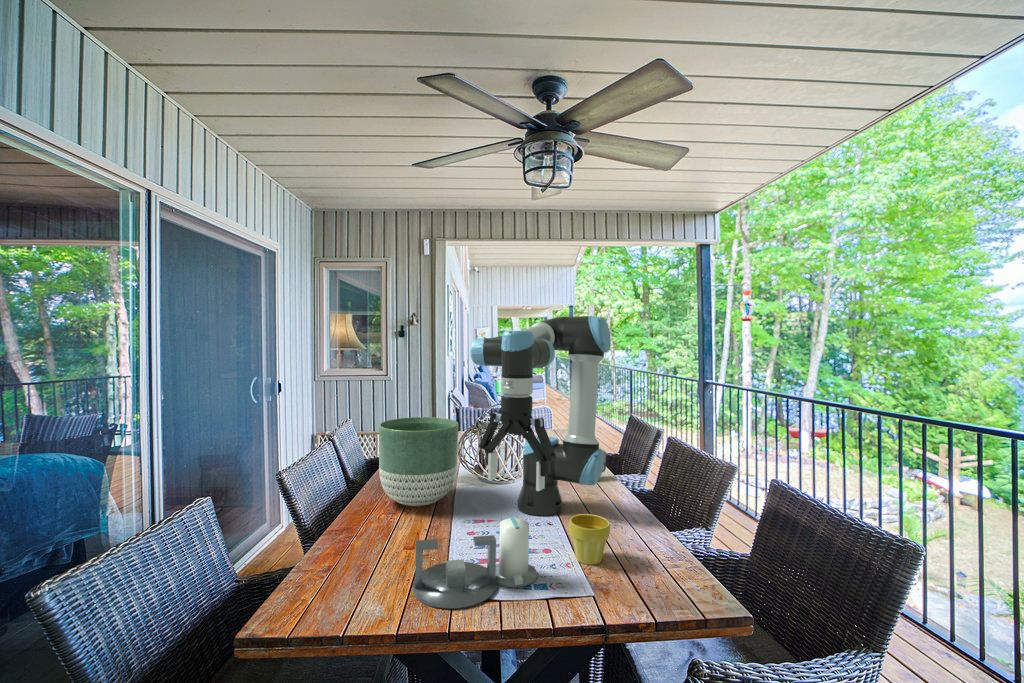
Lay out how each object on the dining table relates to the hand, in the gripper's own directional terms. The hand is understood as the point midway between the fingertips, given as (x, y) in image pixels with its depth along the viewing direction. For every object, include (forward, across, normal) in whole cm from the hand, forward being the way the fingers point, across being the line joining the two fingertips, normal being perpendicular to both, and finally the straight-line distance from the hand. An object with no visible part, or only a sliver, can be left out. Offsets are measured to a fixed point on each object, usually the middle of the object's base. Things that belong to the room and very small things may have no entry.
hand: (515, 484), depth 110 cm
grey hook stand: (+22, -8, -12) cm, 26 cm away
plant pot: (+22, +11, +18) cm, 31 cm away
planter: (+22, -54, +22) cm, 62 cm away
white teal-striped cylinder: (+21, 0, 0) cm, 21 cm away
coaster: (+22, 0, 0) cm, 22 cm away
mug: (+23, -15, +82) cm, 87 cm away
